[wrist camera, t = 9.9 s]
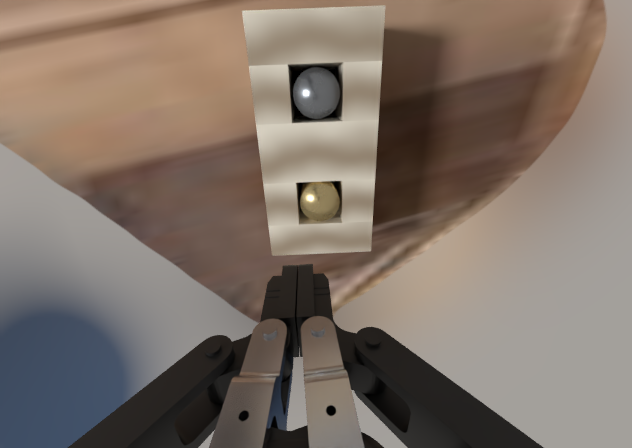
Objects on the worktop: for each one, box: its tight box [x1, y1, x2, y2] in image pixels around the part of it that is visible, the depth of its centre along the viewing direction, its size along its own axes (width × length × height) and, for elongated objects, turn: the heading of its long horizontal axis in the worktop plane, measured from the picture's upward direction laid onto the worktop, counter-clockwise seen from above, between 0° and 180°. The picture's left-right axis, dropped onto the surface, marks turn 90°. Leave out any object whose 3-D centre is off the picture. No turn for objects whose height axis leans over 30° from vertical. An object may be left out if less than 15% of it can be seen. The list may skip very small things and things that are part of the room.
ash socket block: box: [242, 6, 385, 256], centre depth 32 cm, size 24×12×8 cm, turn 2°
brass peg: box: [300, 181, 340, 221], centre depth 34 cm, size 4×4×7 cm
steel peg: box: [293, 67, 340, 119], centre depth 29 cm, size 4×4×7 cm
